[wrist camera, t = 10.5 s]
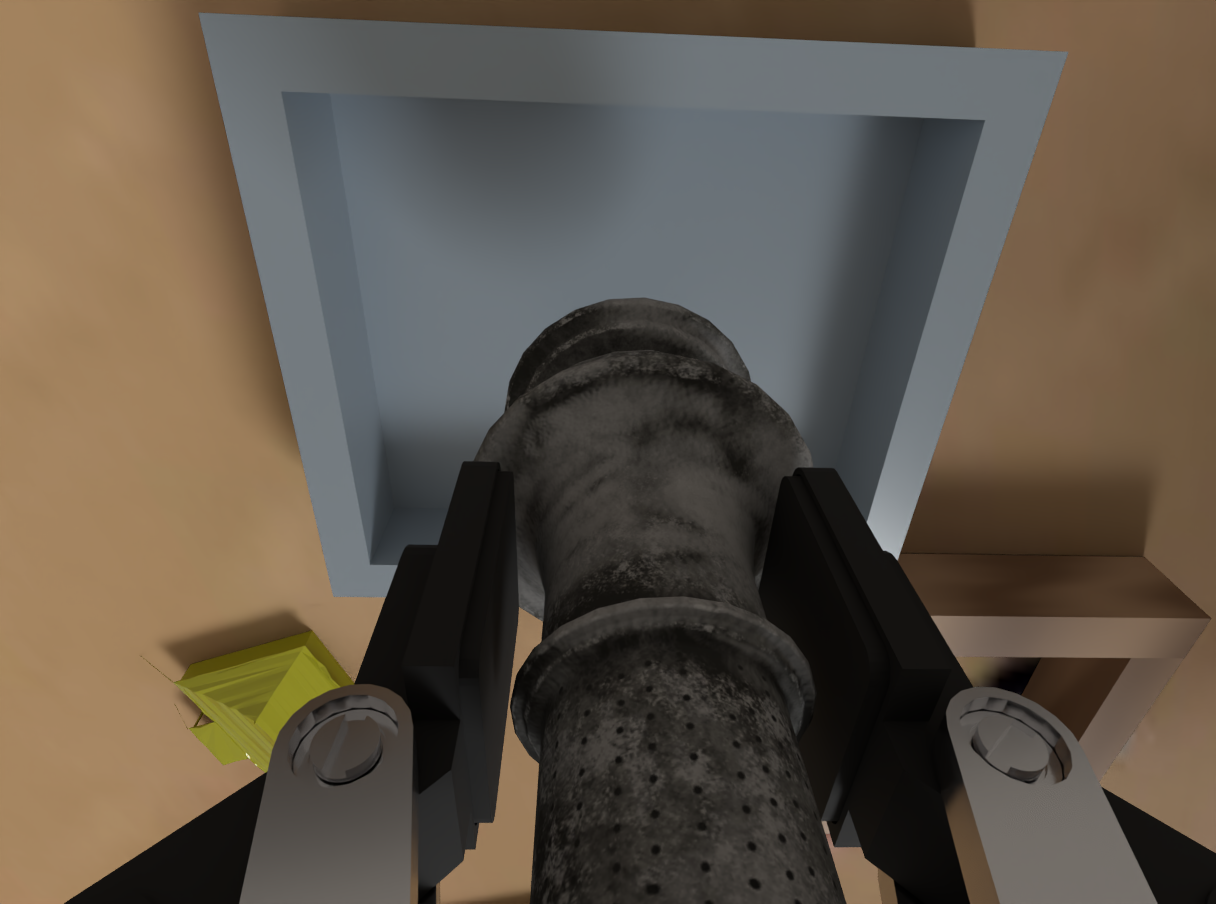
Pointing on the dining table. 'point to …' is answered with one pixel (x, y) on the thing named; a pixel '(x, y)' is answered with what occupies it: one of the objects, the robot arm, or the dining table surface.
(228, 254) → the dining table surface
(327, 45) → the tray
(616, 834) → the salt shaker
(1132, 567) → the hollow square frame
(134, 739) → the dining table surface
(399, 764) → the robot arm
